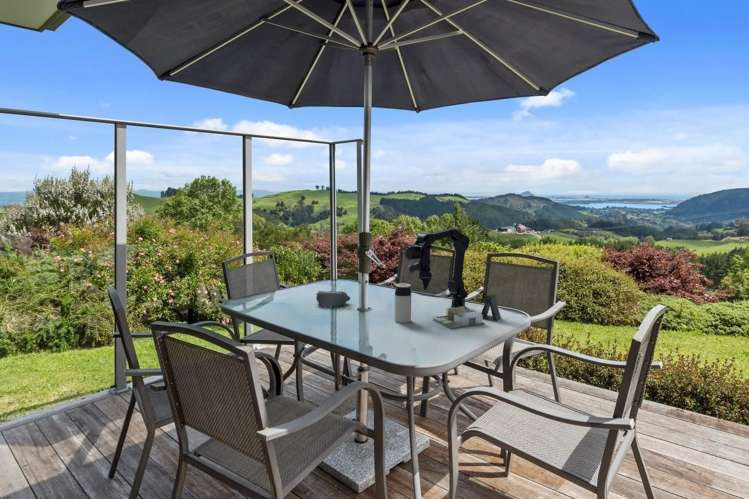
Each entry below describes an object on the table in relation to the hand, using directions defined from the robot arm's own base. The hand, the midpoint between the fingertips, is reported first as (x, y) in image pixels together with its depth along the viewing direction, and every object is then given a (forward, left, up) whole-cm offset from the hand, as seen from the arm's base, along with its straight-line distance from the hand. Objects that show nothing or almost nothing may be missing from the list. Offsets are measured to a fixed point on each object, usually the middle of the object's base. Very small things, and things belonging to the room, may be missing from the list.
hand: (424, 287), depth 224 cm
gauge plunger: (-7, +17, -13) cm, 22 cm away
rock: (+38, -38, -14) cm, 55 cm away
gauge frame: (-7, +20, -14) cm, 25 cm away
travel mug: (+16, +7, -14) cm, 23 cm away
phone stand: (-26, +21, -14) cm, 36 cm away
